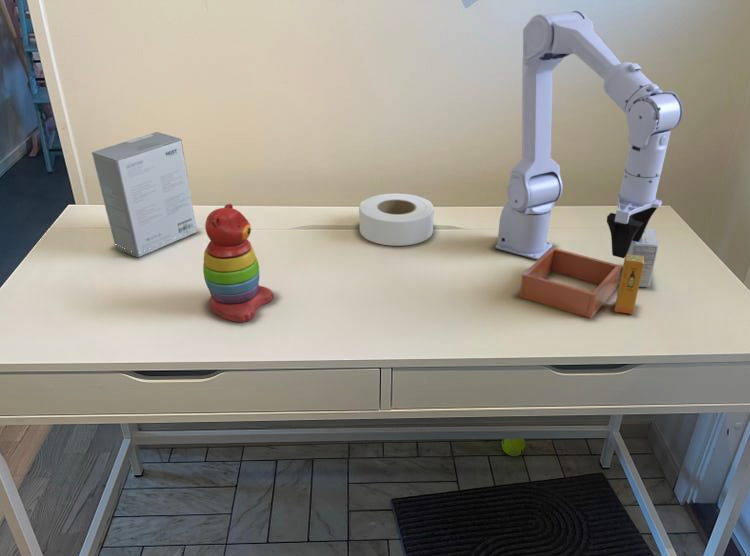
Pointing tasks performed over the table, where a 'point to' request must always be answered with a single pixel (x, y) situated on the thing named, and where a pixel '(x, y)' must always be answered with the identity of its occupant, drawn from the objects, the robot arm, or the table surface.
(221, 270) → the stacking bear
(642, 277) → the medicine box
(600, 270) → the terracotta planter box
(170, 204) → the hard drive box
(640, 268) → the supplement box
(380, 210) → the tape roll
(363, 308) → the table surface
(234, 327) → the table surface
